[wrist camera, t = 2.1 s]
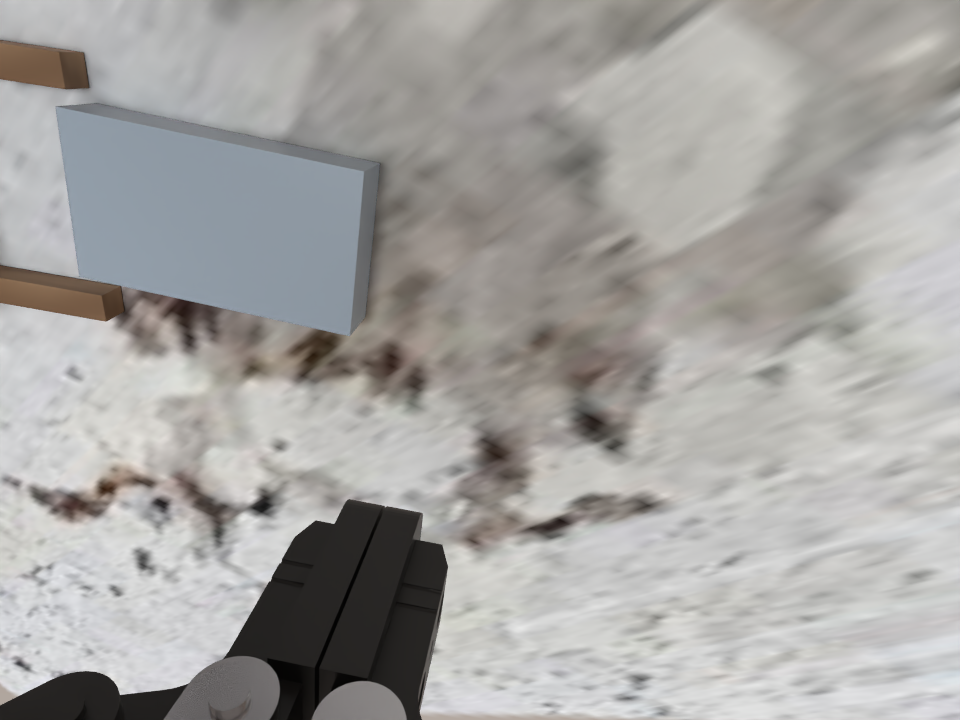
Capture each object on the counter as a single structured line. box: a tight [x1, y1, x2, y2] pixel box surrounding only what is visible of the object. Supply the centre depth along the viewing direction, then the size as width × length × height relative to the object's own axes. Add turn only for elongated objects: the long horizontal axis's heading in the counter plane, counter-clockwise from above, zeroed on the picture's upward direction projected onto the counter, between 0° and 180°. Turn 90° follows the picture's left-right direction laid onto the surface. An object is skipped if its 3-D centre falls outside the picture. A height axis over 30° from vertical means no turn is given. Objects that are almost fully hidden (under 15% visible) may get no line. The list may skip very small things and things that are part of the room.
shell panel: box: [56, 103, 380, 336], centre depth 29 cm, size 8×14×3 cm, turn 80°
